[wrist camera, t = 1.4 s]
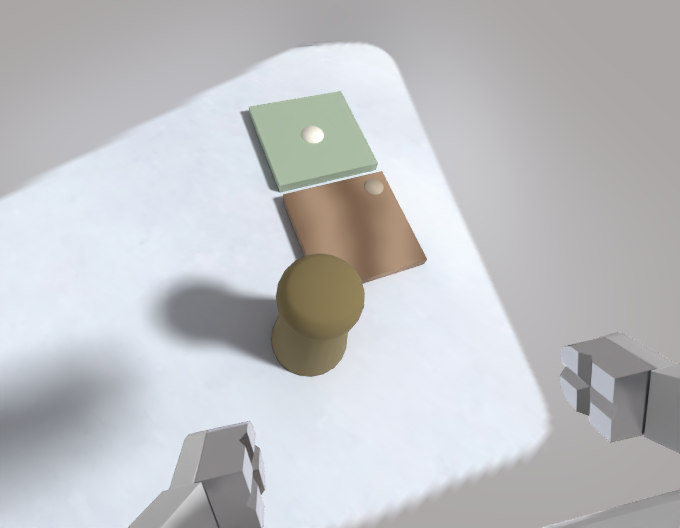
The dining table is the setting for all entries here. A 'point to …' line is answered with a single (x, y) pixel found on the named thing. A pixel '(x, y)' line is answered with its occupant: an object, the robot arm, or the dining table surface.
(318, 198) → the tile two
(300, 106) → the tile one
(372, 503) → the dining table surface
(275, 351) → the cork
